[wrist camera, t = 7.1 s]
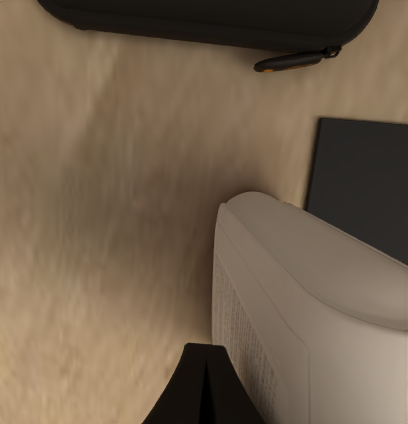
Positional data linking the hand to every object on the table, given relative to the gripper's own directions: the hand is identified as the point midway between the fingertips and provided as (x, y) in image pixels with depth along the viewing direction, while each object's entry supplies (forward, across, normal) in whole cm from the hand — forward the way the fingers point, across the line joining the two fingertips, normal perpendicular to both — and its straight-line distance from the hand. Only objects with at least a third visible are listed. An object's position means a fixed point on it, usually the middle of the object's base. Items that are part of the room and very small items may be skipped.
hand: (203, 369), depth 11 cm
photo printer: (+7, -2, 0) cm, 8 cm away
